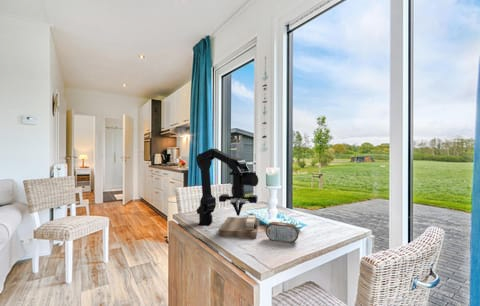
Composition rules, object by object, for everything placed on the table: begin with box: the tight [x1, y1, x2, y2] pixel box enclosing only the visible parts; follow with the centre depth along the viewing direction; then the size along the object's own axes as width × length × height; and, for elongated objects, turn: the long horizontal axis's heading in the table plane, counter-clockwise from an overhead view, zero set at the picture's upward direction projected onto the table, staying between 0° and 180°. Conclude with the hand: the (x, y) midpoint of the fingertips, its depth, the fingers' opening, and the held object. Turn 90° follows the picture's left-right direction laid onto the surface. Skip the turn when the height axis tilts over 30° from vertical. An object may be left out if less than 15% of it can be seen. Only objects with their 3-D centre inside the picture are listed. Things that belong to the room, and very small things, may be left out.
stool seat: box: [218, 216, 260, 240], centre depth 123 cm, size 18×22×5 cm
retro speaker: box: [265, 221, 300, 244], centre depth 108 cm, size 15×3×8 cm, turn 74°
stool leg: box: [246, 212, 257, 230], centre depth 121 cm, size 16×4×4 cm, turn 172°
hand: (238, 215), depth 117 cm, fingers closed
